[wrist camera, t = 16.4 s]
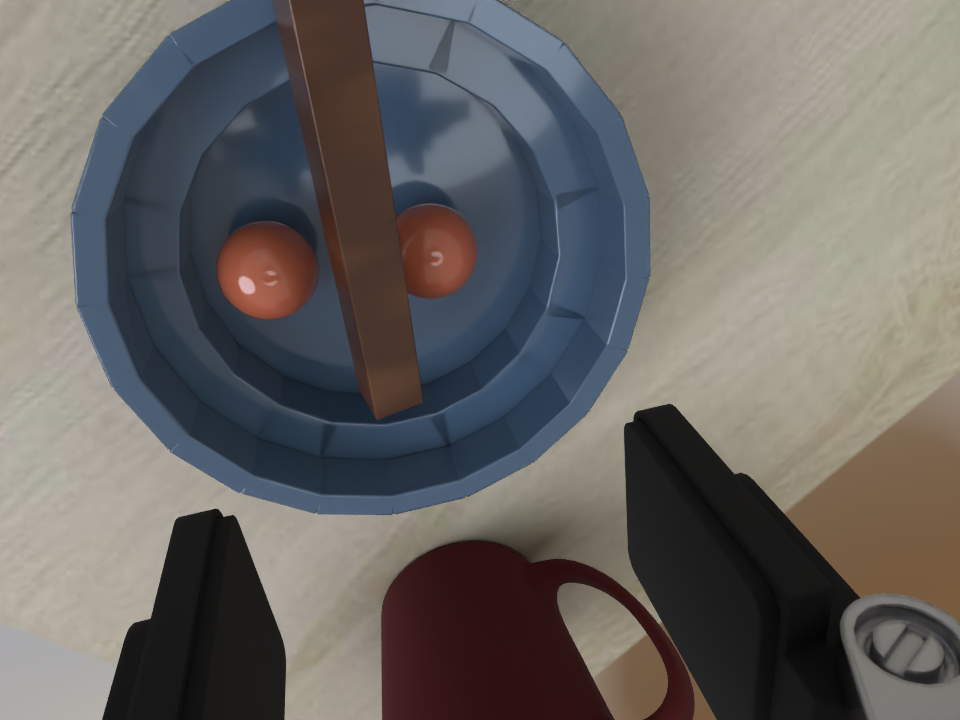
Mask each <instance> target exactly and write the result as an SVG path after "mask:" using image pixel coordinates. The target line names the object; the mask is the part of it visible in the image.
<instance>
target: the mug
mask: <svg viewBox="0 0 960 720" xmlns="http://www.w3.org/2000/svg"><path fill="white" fill-rule="evenodd" d="M564 583H580V584H585V585H589V586H592V587H594V588H597V589H599V590H601V591H603V592H605V593H607V594H609V595H610V596H612V597H613V598H615V599H616V600H617V601H619V602H620V603H621V604H622V605H624V606H625V607H626V608H627V609H628V610H629V611H630V612H631V613H632V615H633V616H634V617H635V618H636V619H637V621H638V622H639V623H640V624H641V626H642V627H643V628H644V630H645V631H646V633H647V634H648V635H649V637H650V638H651V640H652V642H653V643H654V645H655V646H656V648H657V650H658V652H659V653H660V655H661V657H662V660H663V662H664V664H665V667H666V670H667V675H668V689H667V694H666V697H665V699H664V701H663V703H662V704H661V706H660V707H659V708H658V710H657V711H656V712H655V713H653V714H652V715H651V716H649V717H648V718H646V719H644V720H693V715H694V704H695V703H694V693H693V687H692V684H691V680H690V677H689V675H688V672H687V670H686V668H685V665H684V663H683V661H682V660H681V658H680V656H679V654H678V652H677V651H676V649H675V647H674V646H673V644H672V642H671V641H670V639H669V638H668V636H667V635H666V634H665V632H664V631H663V629H662V628H661V627H660V625H659V624H658V623H657V622H656V620H655V619H654V618H653V617H652V615H651V614H650V613H649V612H648V611H647V610H646V609H645V608H644V606H643V605H642V604H641V603H640V602H639V601H638V600H637V599H636V598H635V597H634V596H632V595H631V594H630V593H629V592H628V591H627V590H626V589H625V588H624V587H622V586H621V585H620V584H619V583H617V582H616V581H615V580H613V579H612V578H610V577H609V576H607V575H606V574H604V573H602V572H600V571H598V570H597V569H595V568H593V567H590V566H588V565H585V564H583V563H579V562H576V561H571V560H566V559H551V560H545V561H540V562H535V563H530V562H529V561H528V560H527V558H525V557H524V556H523V555H522V554H520V553H519V552H517V551H515V550H513V549H511V548H509V547H506V546H503V545H500V544H496V543H490V542H464V543H457V544H453V545H449V546H445V547H442V548H439V549H437V550H434V551H432V552H430V553H428V554H426V555H424V556H422V557H420V558H419V559H417V560H416V561H414V562H413V563H411V564H410V565H409V566H408V567H406V568H405V569H404V570H403V571H402V572H401V573H400V574H399V575H398V576H397V578H396V579H395V580H394V581H393V583H392V584H391V586H390V587H389V589H388V591H387V593H386V596H385V598H384V601H383V606H382V620H381V640H382V720H615V719H614V718H613V716H612V714H611V713H610V711H609V709H608V707H607V705H606V703H605V701H604V699H603V697H602V695H601V693H600V691H599V690H598V688H597V686H596V684H595V682H594V680H593V678H592V676H591V674H590V672H589V670H588V668H587V666H586V664H585V662H584V660H583V658H582V657H581V655H580V653H579V651H578V649H577V647H576V645H575V643H574V641H573V639H572V637H571V636H570V634H569V631H568V629H567V627H566V625H565V623H564V621H563V619H562V616H561V614H560V611H559V607H558V603H557V592H558V590H559V587H560V586H561V585H562V584H564Z"/></svg>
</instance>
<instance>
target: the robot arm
mask: <svg viewBox="0 0 960 720" xmlns="http://www.w3.org/2000/svg"><path fill="white" fill-rule="evenodd" d="M624 445H625V475H626V504H627V534H628V553H629V558H630V561H631V565H632V567H633V570H634V572H635V574H636V576H637V578H638V579H639V581H640V583H641V585H642V587H643V588H644V590H645V592H646V594H647V595H648V597H649V599H650V601H651V603H652V604H653V606H654V608H655V610H656V612H657V613H658V615H659V617H660V619H661V620H662V622H663V624H664V626H665V628H666V629H667V631H668V633H669V635H670V637H671V638H672V640H673V642H674V644H675V646H676V647H677V649H678V651H679V653H680V654H681V656H682V658H683V660H684V661H685V663H686V665H687V667H688V669H689V671H690V672H691V674H692V675H693V678H694V679H695V681H696V683H697V684H698V687H699V688H700V690H701V692H702V694H703V696H704V697H705V699H706V701H707V703H708V704H709V706H710V708H711V710H712V712H713V713H714V715H715V717H716V719H717V720H960V623H959V622H958V621H957V620H956V619H954V618H953V617H952V616H951V615H950V614H948V613H946V612H944V611H942V610H941V609H939V608H937V607H935V606H934V605H932V604H930V603H927V602H924V601H921V600H918V599H915V598H912V597H909V596H903V595H896V594H888V593H886V594H875V595H868V596H866V597H863V598H860V597H859V596H858V595H857V594H856V593H855V592H854V591H853V589H852V588H851V587H850V586H849V585H848V584H847V583H846V582H845V581H844V580H843V578H842V577H841V576H840V575H839V574H838V573H837V572H836V571H835V570H834V569H833V568H832V566H831V565H830V564H829V563H828V562H827V561H826V560H825V559H824V557H823V556H822V555H821V554H820V553H819V552H818V551H817V550H816V549H815V547H813V545H812V544H811V543H810V542H809V541H808V540H807V539H806V538H805V536H804V535H803V534H802V533H801V532H800V531H799V530H798V529H797V528H796V527H795V525H793V523H792V522H791V521H790V520H789V519H788V518H787V517H786V515H785V514H784V513H783V512H782V511H781V510H780V509H779V508H778V507H777V505H776V504H775V503H774V502H773V501H772V500H771V499H770V498H769V497H768V496H767V494H766V493H765V492H764V491H763V490H762V489H761V488H760V487H759V486H758V485H757V483H756V482H755V481H754V480H753V479H751V478H750V477H749V476H748V475H746V474H743V473H738V474H734V473H733V472H732V471H731V470H730V469H729V468H728V466H727V465H726V464H725V463H724V462H723V461H722V460H721V458H720V457H719V456H718V455H717V454H716V453H715V452H714V450H713V449H712V448H711V447H710V446H709V445H708V444H707V442H706V441H705V440H704V439H703V438H702V437H701V436H700V434H699V433H698V432H697V431H696V430H695V429H694V428H693V427H692V425H691V424H690V423H689V422H688V421H687V420H686V419H685V417H684V416H683V415H682V414H681V413H680V412H679V411H678V409H677V408H676V407H675V406H673V405H672V404H667V405H662V406H658V407H654V408H649V409H645V410H641V411H637V412H636V413H635V415H634V420H633V422H630V423H626V424H625V427H624ZM285 682H286V655H285V648H284V643H283V640H282V637H281V634H280V631H279V629H278V626H277V623H276V621H275V618H274V615H273V613H272V610H271V608H270V605H269V602H268V600H267V597H266V594H265V592H264V589H263V586H262V584H261V581H260V578H259V576H258V573H257V571H256V568H255V565H254V563H253V560H252V557H251V555H250V552H249V549H248V547H247V544H246V542H245V539H244V536H243V534H242V531H241V528H240V526H239V523H238V521H237V519H236V517H235V516H234V515H231V516H226V517H223V515H222V513H221V512H220V511H219V509H212V510H208V511H204V512H200V513H195V514H191V515H187V516H182V517H178V518H177V519H176V521H175V523H174V527H173V531H172V535H171V539H170V543H169V547H168V551H167V555H166V559H165V563H164V567H163V571H162V575H161V579H160V583H159V587H158V591H157V595H156V599H155V603H154V608H153V612H152V616H151V619H148V620H144V621H140V622H136V623H134V624H133V625H132V626H131V627H130V628H129V630H128V632H127V634H126V637H125V640H124V643H123V647H122V651H121V654H120V658H119V661H118V665H117V669H116V672H115V676H114V680H113V683H112V686H111V690H110V694H109V697H108V701H107V705H106V708H105V712H104V715H103V719H102V720H284V714H285Z"/></svg>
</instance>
